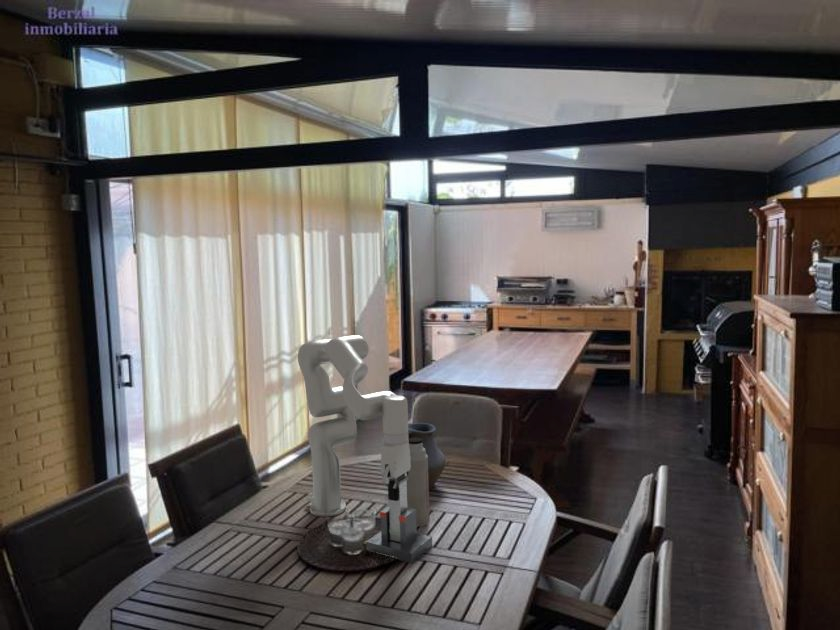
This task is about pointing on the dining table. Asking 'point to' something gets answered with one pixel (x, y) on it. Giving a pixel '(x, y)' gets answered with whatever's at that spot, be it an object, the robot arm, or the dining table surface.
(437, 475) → the pitcher
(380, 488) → the dining table surface
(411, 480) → the thermos bottle
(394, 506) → the column
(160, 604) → the dining table surface
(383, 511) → the base
